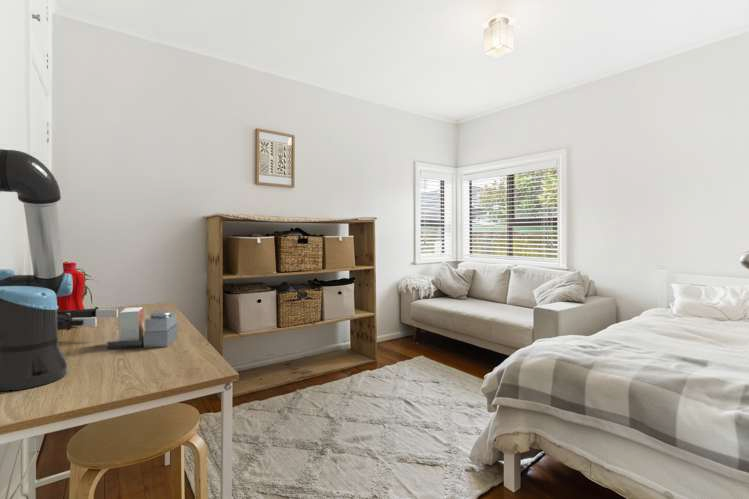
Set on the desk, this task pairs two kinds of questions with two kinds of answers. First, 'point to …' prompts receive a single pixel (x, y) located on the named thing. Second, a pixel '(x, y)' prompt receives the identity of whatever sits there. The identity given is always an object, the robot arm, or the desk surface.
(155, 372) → the desk surface
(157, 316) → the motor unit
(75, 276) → the water bottle
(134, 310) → the small box
